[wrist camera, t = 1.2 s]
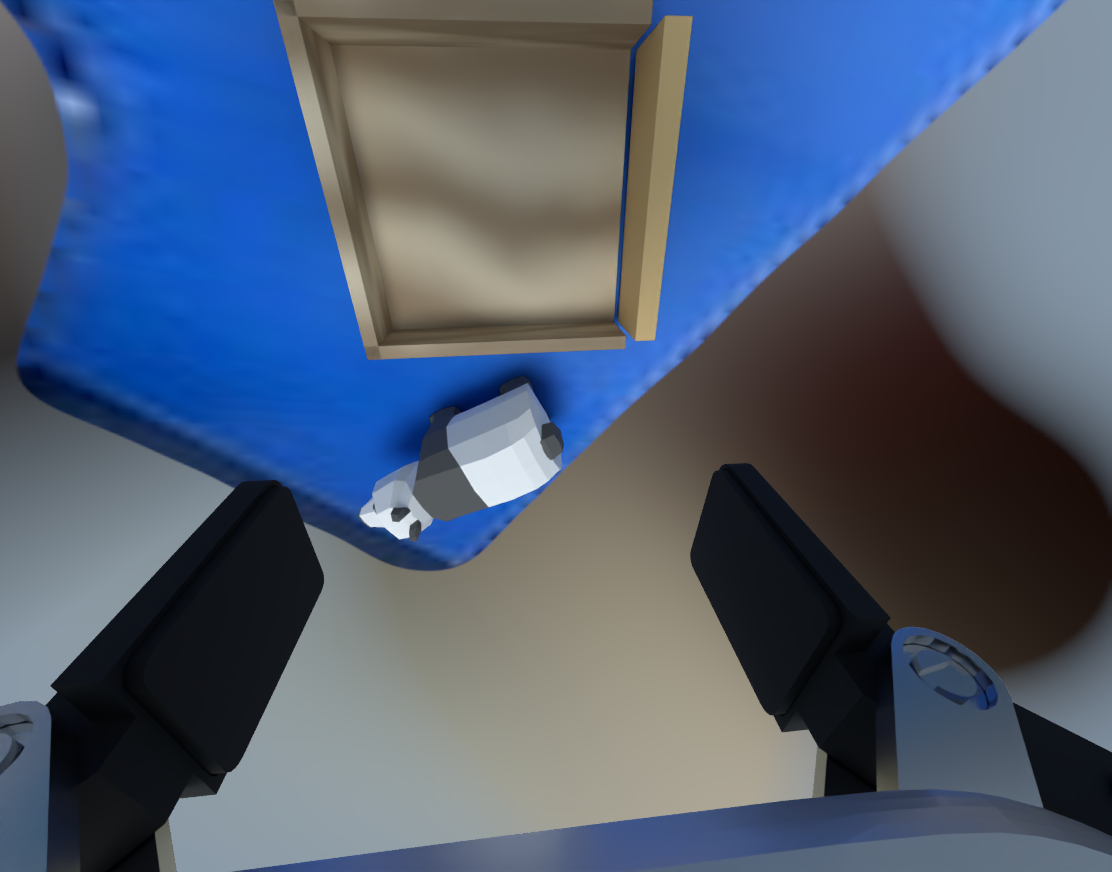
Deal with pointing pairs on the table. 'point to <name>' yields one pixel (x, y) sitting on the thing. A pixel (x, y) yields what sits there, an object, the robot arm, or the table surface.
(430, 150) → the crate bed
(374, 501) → the giant panda
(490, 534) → the table surface
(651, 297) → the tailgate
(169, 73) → the table surface
